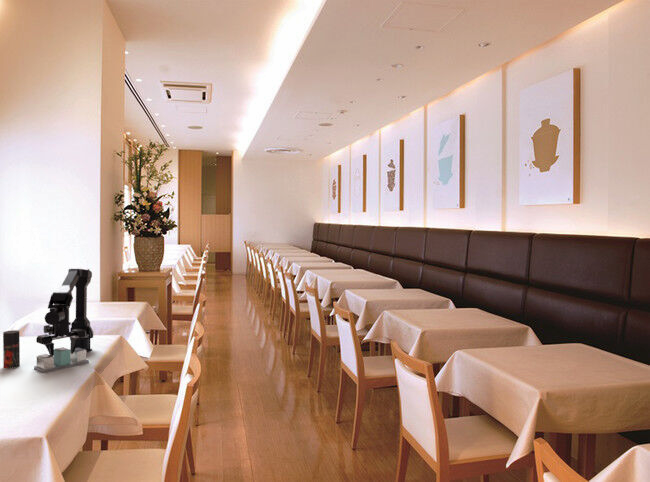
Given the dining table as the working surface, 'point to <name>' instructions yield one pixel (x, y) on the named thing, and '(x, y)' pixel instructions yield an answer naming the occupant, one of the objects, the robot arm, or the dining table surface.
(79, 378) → the dining table surface
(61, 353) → the block
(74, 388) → the dining table surface
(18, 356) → the deodorant
